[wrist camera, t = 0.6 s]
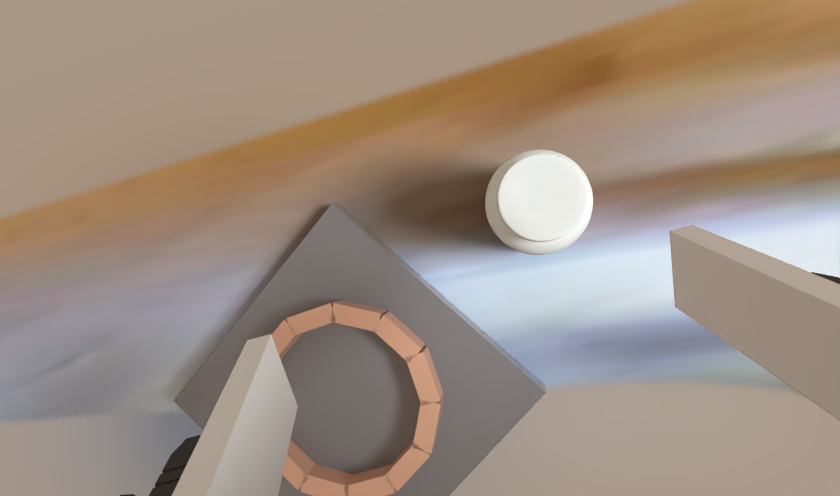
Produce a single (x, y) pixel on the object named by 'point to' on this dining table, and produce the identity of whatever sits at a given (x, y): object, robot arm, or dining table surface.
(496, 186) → the supplement bottle
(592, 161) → the dining table surface
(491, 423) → the coaster stand
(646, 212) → the dining table surface
